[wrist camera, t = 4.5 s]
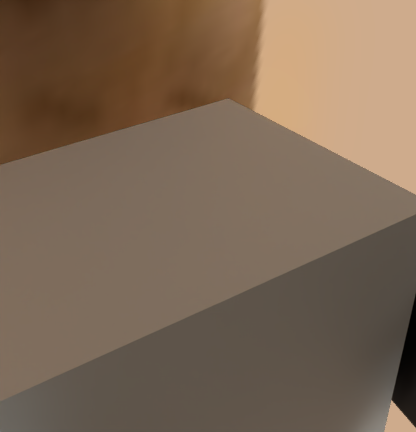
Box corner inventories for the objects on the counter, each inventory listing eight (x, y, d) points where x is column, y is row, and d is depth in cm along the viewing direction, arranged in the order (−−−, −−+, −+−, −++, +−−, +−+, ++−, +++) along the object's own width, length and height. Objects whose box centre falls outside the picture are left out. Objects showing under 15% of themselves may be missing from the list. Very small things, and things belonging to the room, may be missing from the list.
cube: (247, 273, 11) (383, 433, 7) (69, 351, 10) (119, 601, 6) (228, 98, 8) (435, 205, 4) (-26, 172, 7) (-54, 425, 3)
